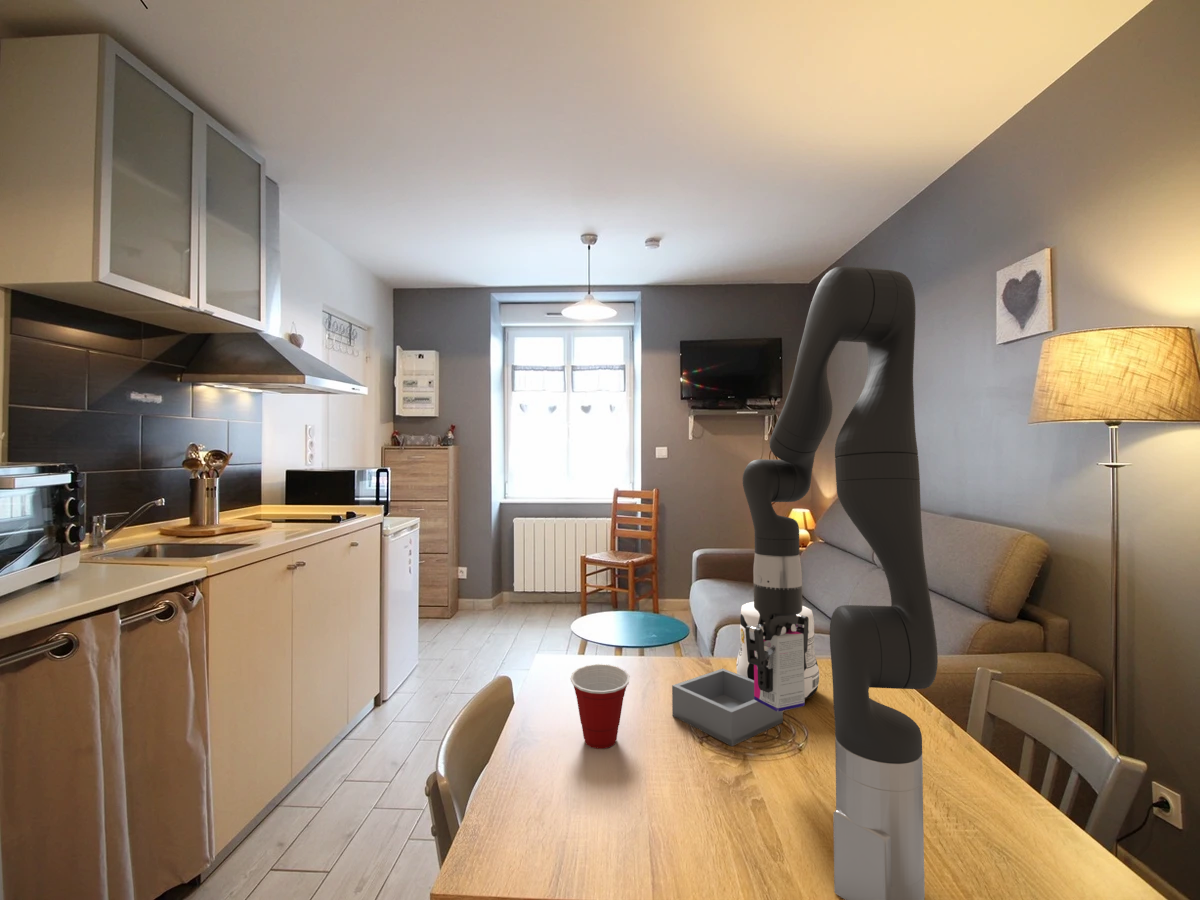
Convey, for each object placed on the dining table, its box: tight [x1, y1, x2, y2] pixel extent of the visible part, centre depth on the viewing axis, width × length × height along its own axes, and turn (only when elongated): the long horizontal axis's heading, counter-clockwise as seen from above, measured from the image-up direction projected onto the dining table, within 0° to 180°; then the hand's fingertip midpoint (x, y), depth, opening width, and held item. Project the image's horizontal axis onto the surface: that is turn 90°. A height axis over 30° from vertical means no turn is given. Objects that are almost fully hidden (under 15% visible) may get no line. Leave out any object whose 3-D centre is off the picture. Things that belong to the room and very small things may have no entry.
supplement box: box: [754, 632, 806, 712], centre depth 90 cm, size 6×6×12 cm
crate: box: [671, 668, 784, 747], centre depth 110 cm, size 15×15×6 cm
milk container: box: [735, 601, 820, 700], centre depth 123 cm, size 17×17×18 cm
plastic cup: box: [569, 663, 631, 750], centre depth 101 cm, size 11×11×12 cm
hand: (779, 685), depth 90 cm, fingers closed on supplement box, 6 cm apart
